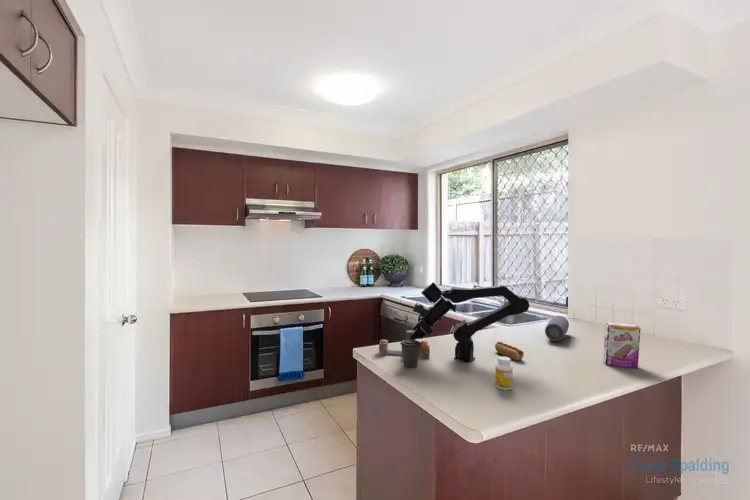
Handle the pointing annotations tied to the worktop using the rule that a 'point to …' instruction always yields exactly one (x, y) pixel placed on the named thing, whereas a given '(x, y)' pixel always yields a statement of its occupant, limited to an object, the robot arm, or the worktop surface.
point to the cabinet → (424, 352)
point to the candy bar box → (621, 345)
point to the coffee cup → (410, 353)
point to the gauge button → (424, 344)
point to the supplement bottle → (503, 373)
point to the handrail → (394, 352)
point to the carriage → (409, 334)
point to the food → (509, 351)
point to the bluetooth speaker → (557, 328)
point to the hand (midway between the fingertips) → (411, 336)
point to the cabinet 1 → (383, 347)
